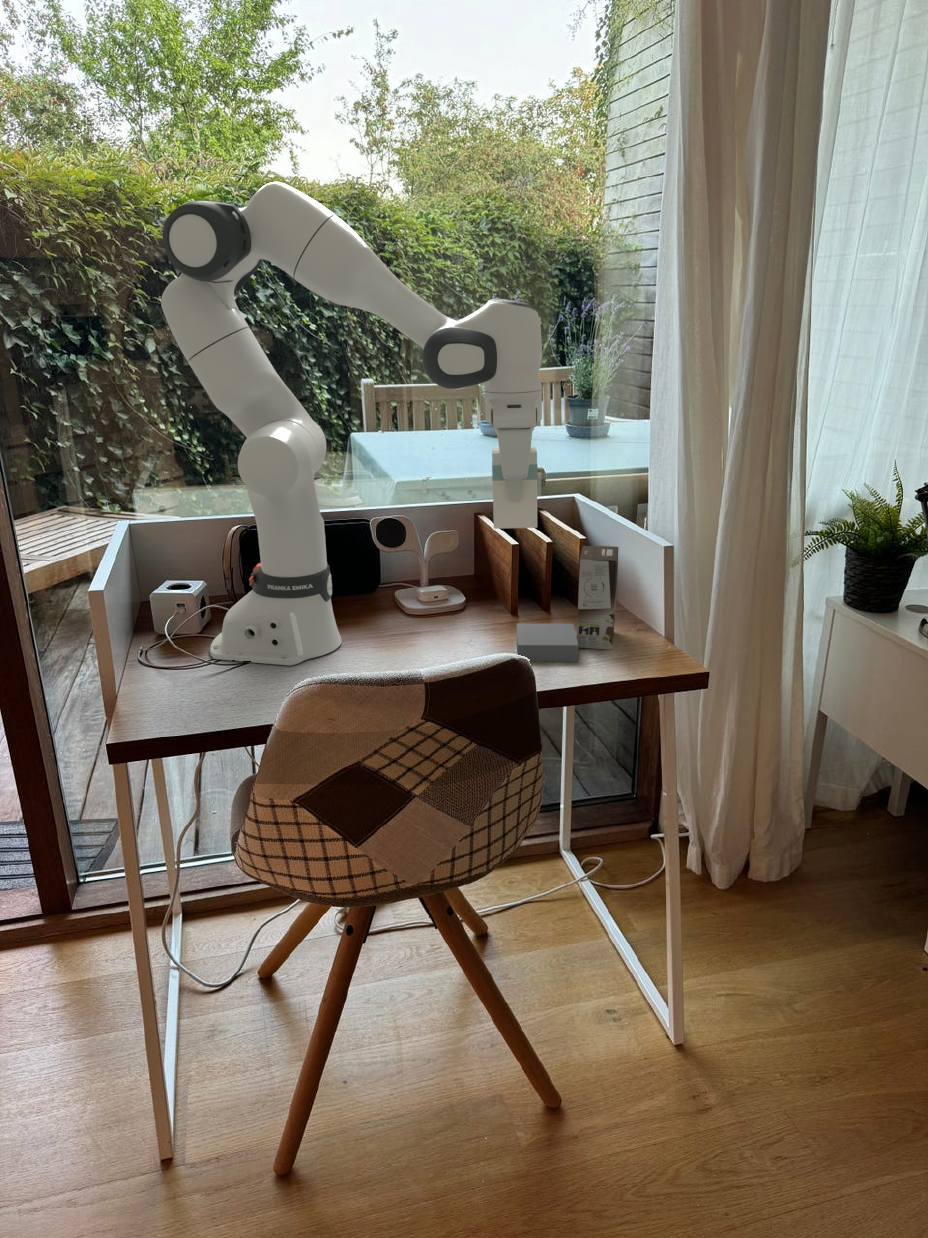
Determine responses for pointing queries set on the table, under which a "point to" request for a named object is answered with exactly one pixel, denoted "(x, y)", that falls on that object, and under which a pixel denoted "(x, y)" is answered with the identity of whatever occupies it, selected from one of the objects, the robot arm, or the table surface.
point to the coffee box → (597, 597)
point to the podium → (547, 642)
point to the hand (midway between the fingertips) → (514, 496)
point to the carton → (514, 512)
